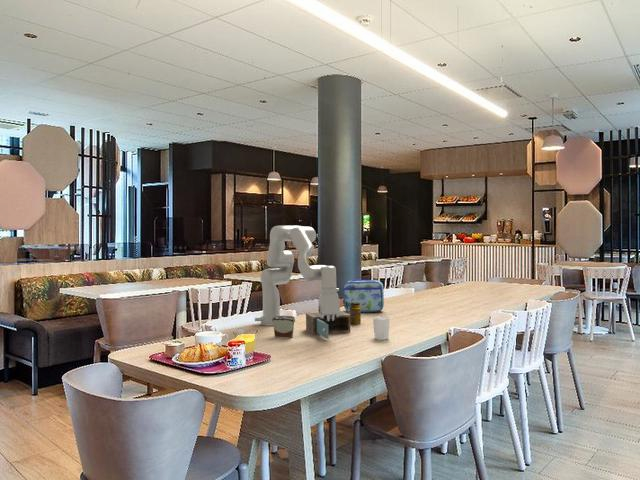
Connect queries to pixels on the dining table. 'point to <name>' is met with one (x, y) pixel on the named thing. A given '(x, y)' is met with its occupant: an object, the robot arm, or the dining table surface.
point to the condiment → (355, 314)
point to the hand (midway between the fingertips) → (330, 328)
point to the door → (322, 328)
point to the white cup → (381, 328)
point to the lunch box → (364, 295)
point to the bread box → (339, 323)
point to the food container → (283, 326)
